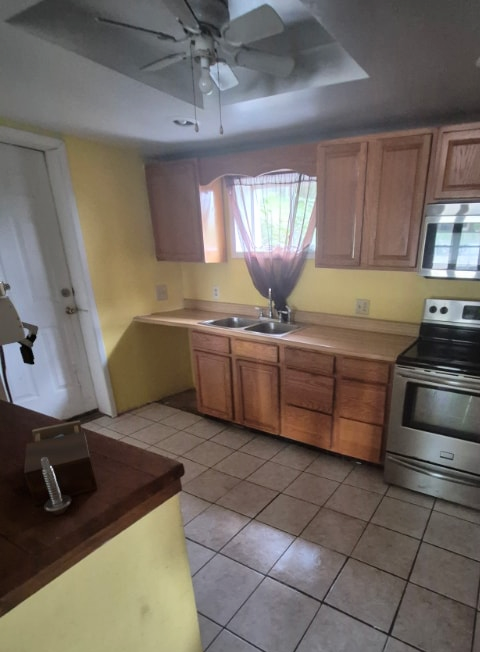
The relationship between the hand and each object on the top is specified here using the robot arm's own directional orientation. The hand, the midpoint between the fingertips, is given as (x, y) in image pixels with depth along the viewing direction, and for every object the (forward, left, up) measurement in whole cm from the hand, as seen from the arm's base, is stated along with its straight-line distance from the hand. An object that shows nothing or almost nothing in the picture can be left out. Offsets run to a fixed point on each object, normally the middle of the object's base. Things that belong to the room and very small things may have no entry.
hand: (7, 369), depth 84 cm
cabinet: (+6, -14, -24) cm, 29 cm away
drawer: (+6, -2, -23) cm, 24 cm away
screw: (+5, -25, -24) cm, 35 cm away
